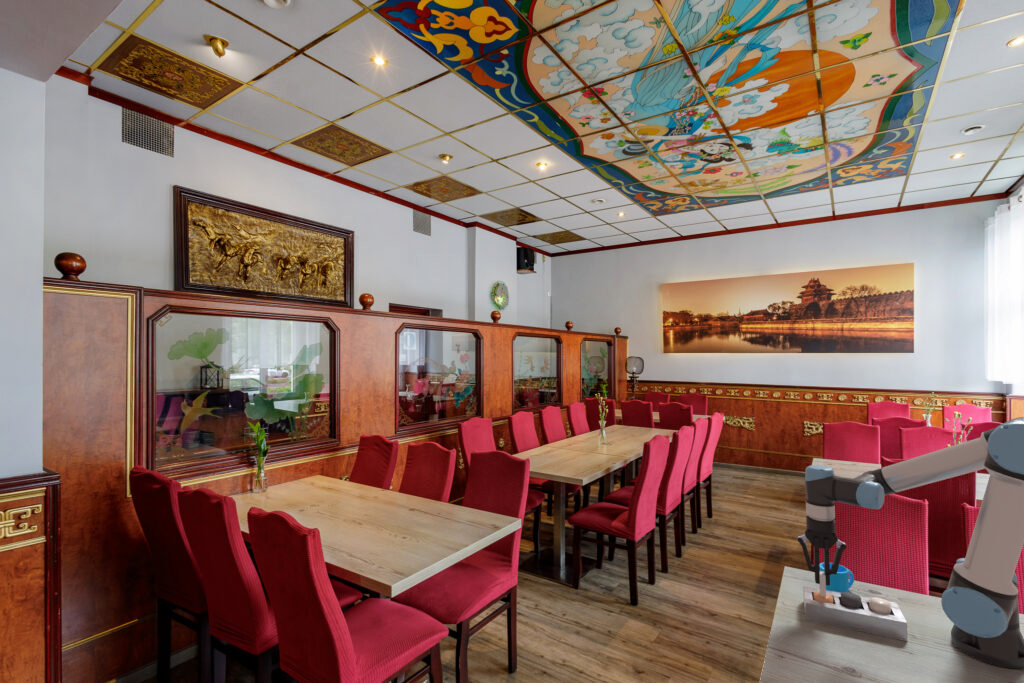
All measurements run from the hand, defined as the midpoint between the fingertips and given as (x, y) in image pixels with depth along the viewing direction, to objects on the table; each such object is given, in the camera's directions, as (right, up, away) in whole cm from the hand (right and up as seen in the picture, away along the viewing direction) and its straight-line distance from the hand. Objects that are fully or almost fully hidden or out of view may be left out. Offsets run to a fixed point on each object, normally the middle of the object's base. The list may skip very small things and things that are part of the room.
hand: (822, 594), depth 147 cm
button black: (+6, -3, -4) cm, 8 cm away
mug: (+14, -7, +14) cm, 21 cm away
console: (+6, -6, -4) cm, 9 cm away
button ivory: (+12, -3, -7) cm, 14 cm away
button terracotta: (0, -4, 0) cm, 4 cm away
